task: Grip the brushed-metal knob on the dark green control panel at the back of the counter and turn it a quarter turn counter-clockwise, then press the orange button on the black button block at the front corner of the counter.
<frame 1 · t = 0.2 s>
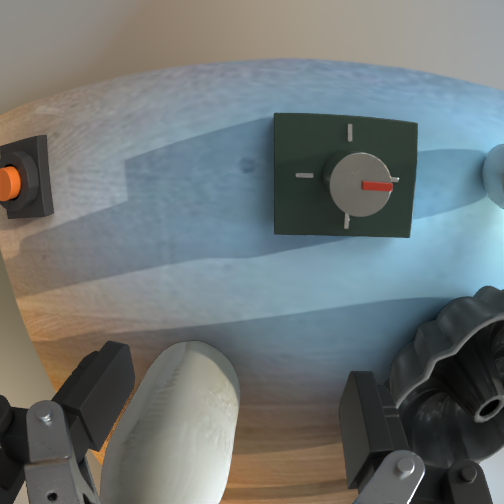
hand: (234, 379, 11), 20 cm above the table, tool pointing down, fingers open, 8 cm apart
panel: (342, 172, 28), on the table
dial: (355, 180, 23), point 5 cm above the table, hinge at 0.0°
button: (6, 183, 27), point 4 cm above the table, slide at 0.2 cm
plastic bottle: (496, 172, 26), on the table
button block: (29, 177, 30), on the table
off-white tall tapered cylinder: (203, 360, 36), on the table
bundt pan: (458, 357, 33), on the table
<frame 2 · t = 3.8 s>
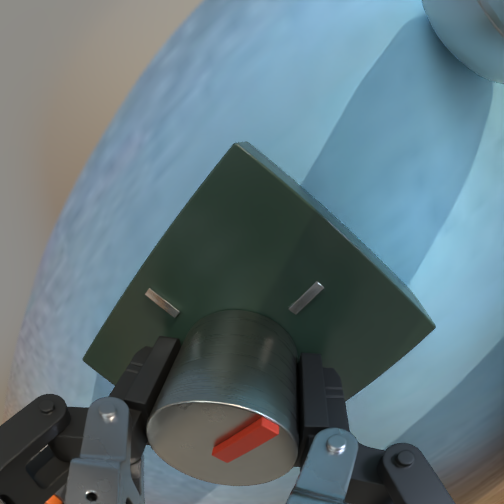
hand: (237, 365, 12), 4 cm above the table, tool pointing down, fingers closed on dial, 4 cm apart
panel: (248, 317, 15), on the table
dial: (230, 402, 10), point 5 cm above the table, hinge at 0.0°, touching gripper
button: (46, 498, 22), point 4 cm above the table, slide at 0.2 cm
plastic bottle: (466, 24, 9), on the table
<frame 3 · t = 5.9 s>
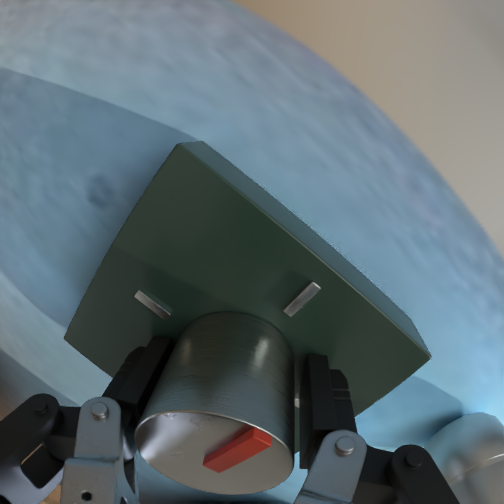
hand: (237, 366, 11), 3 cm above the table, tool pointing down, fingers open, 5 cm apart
panel: (243, 318, 14), on the table
dial: (223, 408, 9), point 5 cm above the table, hinge at 89.9°
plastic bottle: (453, 430, 17), on the table
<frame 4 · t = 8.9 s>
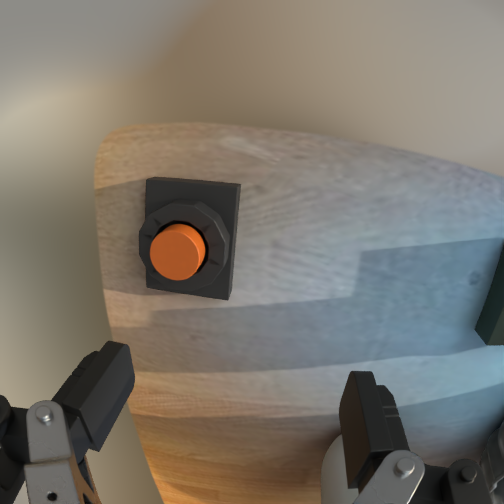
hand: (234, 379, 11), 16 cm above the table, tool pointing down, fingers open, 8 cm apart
button: (177, 251, 22), point 4 cm above the table, slide at 0.2 cm
button block: (193, 235, 26), on the table
off-white tall tapered cylinder: (359, 436, 33), on the table
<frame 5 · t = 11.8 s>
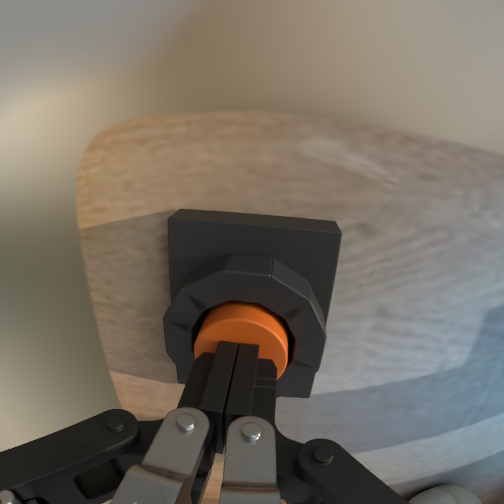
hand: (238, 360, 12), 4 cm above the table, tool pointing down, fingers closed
button: (242, 345, 13), point 3 cm above the table, slide at -0.5 cm, touching gripper
button block: (250, 304, 16), on the table
off-white tall tapered cylinder: (428, 492, 23), on the table
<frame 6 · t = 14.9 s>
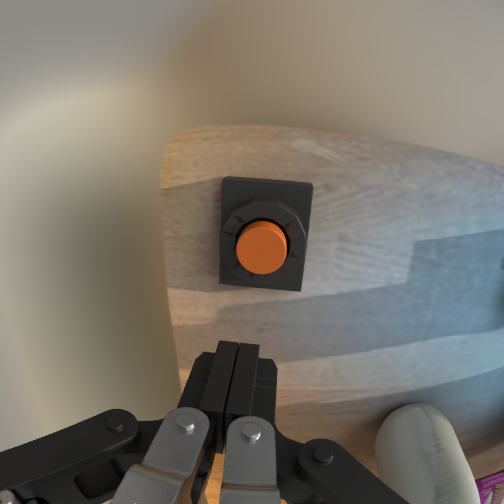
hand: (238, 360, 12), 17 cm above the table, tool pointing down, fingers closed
button: (261, 247, 24), point 4 cm above the table, slide at 0.2 cm
button block: (265, 231, 28), on the table
candy bar box: (486, 479, 42), on the table
off-white tall tapered cylinder: (404, 415, 34), on the table
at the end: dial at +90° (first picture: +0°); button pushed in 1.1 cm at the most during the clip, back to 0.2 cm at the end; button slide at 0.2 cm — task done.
